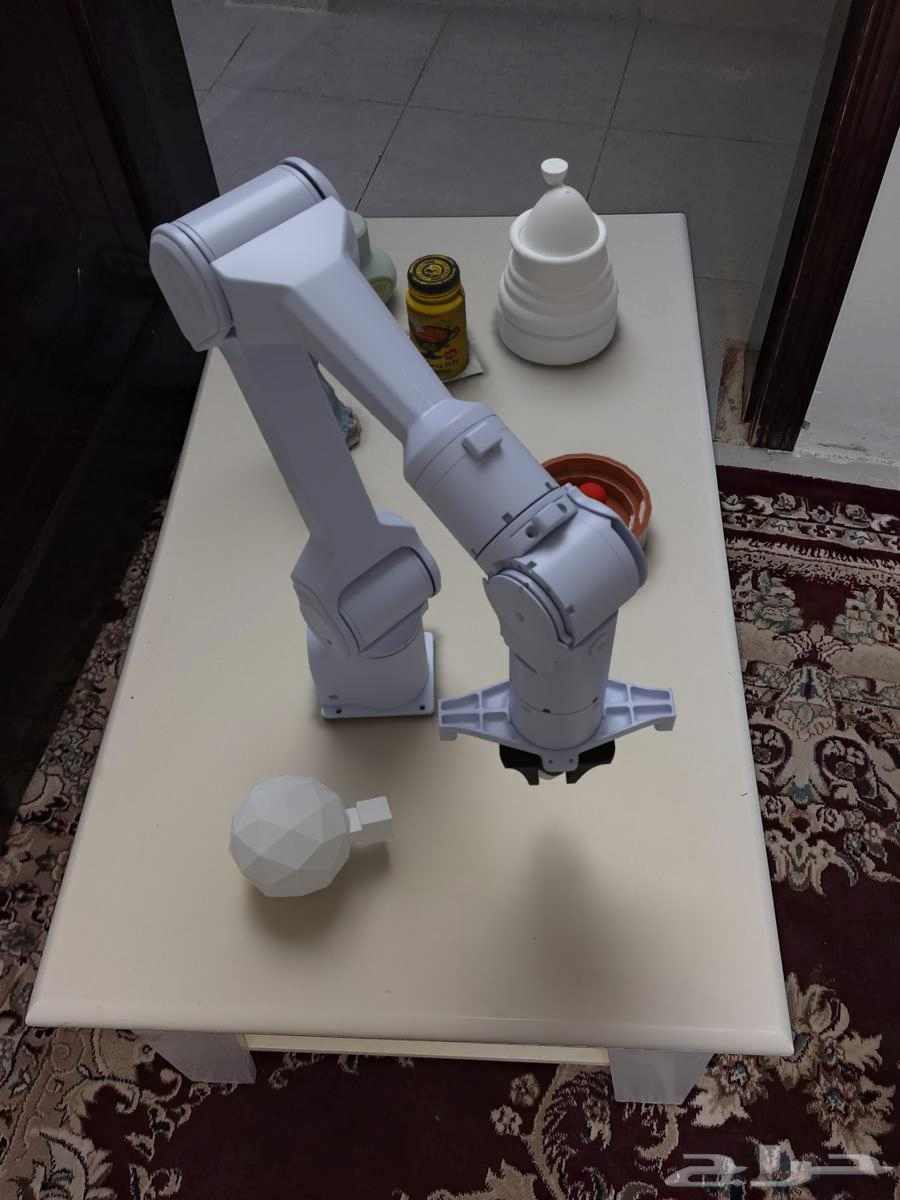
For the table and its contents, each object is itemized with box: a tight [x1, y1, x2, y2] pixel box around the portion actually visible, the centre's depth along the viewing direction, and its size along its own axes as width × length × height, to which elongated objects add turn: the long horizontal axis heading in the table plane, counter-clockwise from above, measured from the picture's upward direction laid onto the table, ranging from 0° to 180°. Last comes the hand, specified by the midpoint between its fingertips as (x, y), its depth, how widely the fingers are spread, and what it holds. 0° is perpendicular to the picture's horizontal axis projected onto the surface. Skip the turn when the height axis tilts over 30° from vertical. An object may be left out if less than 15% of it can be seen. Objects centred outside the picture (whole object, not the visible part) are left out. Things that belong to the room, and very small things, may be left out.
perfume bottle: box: [228, 774, 394, 898], centre depth 74 cm, size 9×9×12 cm
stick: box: [538, 755, 565, 781], centre depth 69 cm, size 2×2×8 cm
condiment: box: [405, 253, 484, 384], centre depth 103 cm, size 7×8×12 cm
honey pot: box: [497, 157, 620, 366], centre depth 103 cm, size 13×13×18 cm
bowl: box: [540, 452, 653, 550], centre depth 92 cm, size 12×12×4 cm
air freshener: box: [346, 209, 398, 305], centre depth 110 cm, size 11×8×10 cm
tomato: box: [578, 483, 607, 505], centre depth 93 cm, size 3×3×3 cm
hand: (550, 771), depth 69 cm, fingers closed on stick, 2 cm apart
